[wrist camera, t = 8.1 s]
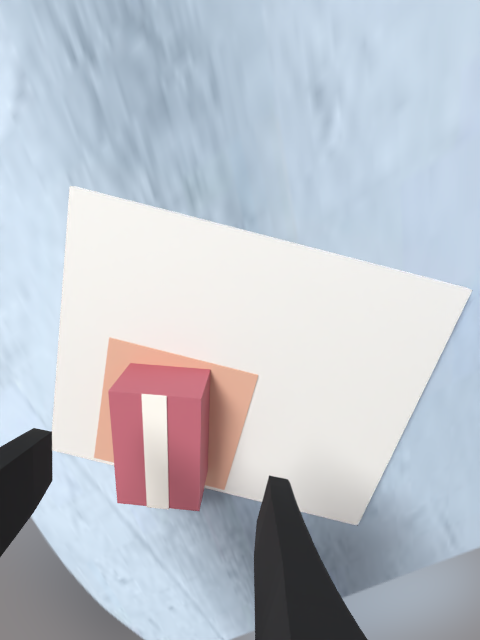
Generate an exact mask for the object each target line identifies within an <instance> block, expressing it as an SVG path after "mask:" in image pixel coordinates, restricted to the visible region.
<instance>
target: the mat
mask: <svg viewBox="0 0 480 640" xmlns="http://www.w3.org/2000/svg"><path fill="white" fill-rule="evenodd" d="M471 292H472V290H471V289H469V288H467V287H464V286H460V285H456V284H452V283H448V282H444V281H440V280H436V279H433V278H429V277H425V276H421V275H417V274H413V273H409V272H406V271H402V270H398V269H394V268H390V267H386V266H382V265H378V264H375V263H371V262H367V261H363V260H359V259H355V258H351V257H347V256H344V255H340V254H336V253H332V252H328V251H324V250H320V249H317V248H313V247H309V246H305V245H301V244H297V243H293V242H289V241H286V240H282V239H278V238H274V237H270V236H266V235H262V234H258V233H255V232H251V231H247V230H243V229H239V228H235V227H231V226H227V225H224V224H220V223H216V222H212V221H208V220H204V219H200V218H197V217H193V216H189V215H185V214H181V213H177V212H173V211H169V210H166V209H162V208H158V207H154V206H150V205H146V204H142V203H138V202H135V201H131V200H127V199H123V198H119V197H115V196H111V195H108V194H104V193H100V192H96V191H92V190H88V189H84V188H80V187H77V186H70V189H69V203H68V217H67V231H66V245H65V258H64V272H63V286H62V300H61V313H60V327H59V341H58V355H57V368H56V382H55V396H54V410H53V423H52V450H53V451H57V452H61V453H65V454H69V455H73V456H77V457H82V458H86V459H90V460H94V461H98V462H102V463H106V464H110V465H114V455H113V443H112V431H111V419H110V407H109V395H108V391H109V389H110V388H111V387H112V386H113V384H114V383H115V382H116V381H117V379H118V378H119V377H120V375H121V374H122V373H123V372H124V370H125V369H126V368H127V367H128V365H129V364H130V363H136V364H149V365H161V366H174V367H187V368H199V369H210V407H209V446H208V472H207V477H206V482H205V487H204V488H207V489H211V490H215V491H219V492H223V493H227V494H231V495H235V496H239V497H244V498H248V499H252V500H256V501H260V502H262V500H263V497H264V493H265V489H266V485H267V482H268V478H269V476H274V477H279V478H284V479H288V480H289V482H290V484H291V487H292V490H293V493H294V496H295V499H296V502H297V505H298V507H299V510H300V512H304V513H308V514H312V515H316V516H320V517H324V518H329V519H333V520H337V521H341V522H345V523H349V524H353V525H357V526H358V524H359V522H360V520H361V518H362V516H363V513H364V511H365V509H366V507H367V505H368V503H369V501H370V499H371V497H372V495H373V493H374V491H375V489H376V487H377V485H378V483H379V481H380V479H381V477H382V475H383V472H384V470H385V468H386V466H387V464H388V462H389V460H390V458H391V456H392V454H393V452H394V450H395V448H396V446H397V444H398V442H399V440H400V438H401V436H402V433H403V431H404V429H405V427H406V425H407V423H408V421H409V419H410V417H411V415H412V413H413V411H414V409H415V407H416V405H417V403H418V401H419V399H420V397H421V395H422V392H423V390H424V388H425V386H426V384H427V382H428V380H429V378H430V376H431V374H432V372H433V370H434V368H435V366H436V364H437V362H438V360H439V358H440V356H441V354H442V351H443V349H444V347H445V345H446V343H447V341H448V339H449V337H450V335H451V333H452V331H453V329H454V327H455V325H456V323H457V321H458V319H459V317H460V315H461V313H462V310H463V308H464V306H465V304H466V302H467V300H468V298H469V296H470V294H471Z"/></svg>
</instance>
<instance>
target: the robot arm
mask: <svg viewBox="0 0 480 640" xmlns="http://www.w3.org/2000/svg"><path fill="white" fill-rule="evenodd" d="M51 482H52V432H50V431H45V430H40V429H35V428H33V429H32V430H30V431H28V432H26V433H24V434H22V435H21V436H19V437H17V438H15V439H14V440H12V441H10V442H8V443H7V444H5V445H3V446H1V447H0V557H1V555H2V554H3V553H4V551H5V550H6V549H7V547H8V546H9V545H10V543H11V542H12V541H13V539H14V538H15V537H16V535H17V534H18V533H19V531H20V530H21V529H22V527H23V526H24V524H25V523H26V522H27V520H28V519H29V518H30V516H31V515H32V514H33V512H34V511H35V509H36V508H37V506H38V504H39V503H40V501H41V499H42V498H43V496H44V494H45V492H46V491H47V489H48V487H49V485H50V483H51ZM254 587H255V640H367V638H366V637H365V635H364V634H363V632H362V631H361V629H360V628H359V626H358V624H357V623H356V621H355V619H354V618H353V616H352V615H351V613H350V611H349V610H348V608H347V606H346V605H345V603H344V601H343V599H342V598H341V596H340V594H339V593H338V591H337V589H336V587H335V585H334V584H333V582H332V580H331V578H330V576H329V574H328V572H327V570H326V568H325V566H324V564H323V562H322V560H321V558H320V556H319V554H318V552H317V550H316V548H315V545H314V543H313V541H312V539H311V536H310V534H309V532H308V530H307V527H306V525H305V523H304V520H303V518H302V515H301V512H300V510H299V507H298V505H297V502H296V499H295V496H294V493H293V490H292V487H291V484H290V482H289V480H288V479H284V478H279V477H274V476H269V478H268V482H267V485H266V489H265V493H264V497H263V500H262V504H261V508H260V512H259V516H258V519H257V526H256V538H255V551H254Z"/></svg>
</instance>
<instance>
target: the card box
mask: <svg viewBox="0 0 480 640" xmlns="http://www.w3.org/2000/svg"><path fill="white" fill-rule="evenodd" d="M108 395H109V407H110V419H111V431H112V443H113V455H114V467H115V479H116V491H117V503H123V504H133V505H143V506H147V507H150V508H160V509H169V508H173V509H183V510H193V511H199V510H200V505H201V501H202V496H203V491H204V487H205V482H206V477H207V472H208V446H209V407H210V369H199V368H187V367H174V366H161V365H149V364H136V363H130V364H129V365H128V367H127V368H126V369H125V370H124V372H123V373H122V374H121V375H120V377H119V378H118V379H117V381H116V382H115V383H114V384H113V386H112V387H111V388H110V389H109V391H108Z"/></svg>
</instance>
